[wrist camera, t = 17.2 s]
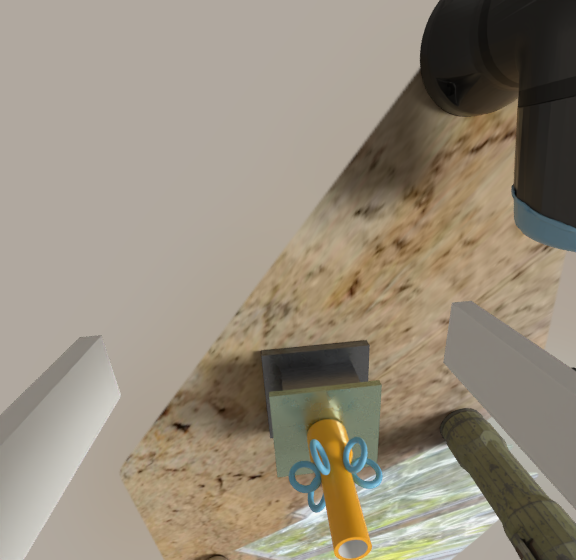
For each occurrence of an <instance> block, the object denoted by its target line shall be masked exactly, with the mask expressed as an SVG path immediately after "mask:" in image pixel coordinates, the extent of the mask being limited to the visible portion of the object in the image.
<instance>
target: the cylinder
mask: <svg viewBox="0 0 576 560" xmlns="http://www.w3.org/2000/svg"><path fill="white" fill-rule="evenodd" d="M307 443H308V449H309V456H310V461H311V462H309V461H299V462H297V463H295V464H294V465H293V466H292V467H291V469H290V471H289V481H290V483H291V485H292V486H293V488H294V489H296V490H297V491H299V492H302V493H308V504H309V507H310V509H311V510H312V511H313V512H320V511H322V510H323V509H324V507H325V506H326V510H327V515H328V521H329V526H330V532H331V537H332V543H333V548H334V553H335V556H336V557H337V558H339V559H340V560H359V559H361V558H363V557H365V556H366V555H368V554H369V552H370V551H371V549H372V545H371V541H370V537H369V534H368V530H367V527H366V523H365V520H364V516H363V513H362V509H361V506H360V502H359V499H358V495H357V491H356V488H355V484H354V482H355V483H356V484H357V485H359V486H361V487H363V488H367V489H372V488H375V487H377V486H378V485H379V484H380V483H381V481H382V471H381V469H380V467H379V466H378V464H377V463H376V462H374V461H373V460H371V459H369V458H367V453H368V452H367V445H366V443H365V441H364V440H363V439H362V438H360V437H353V438H351V439H350V440H349V438H348V435H347V432H346V429H345V427H344V425H343V424H342V423H340V422H339V421H337V420H333V419H323V420H320V421H318V422H316V423H314V424H313V425H312V426H311V427H310V428H309V430H308V432H307ZM356 443H358V444H359V445H360V447H361V456H360V457H359V458H356V459H354V460H353V461H352V459H353V451H352V447H353V445H354V444H356ZM365 464H367V465H370V466H371V467H372V468H373V469H374V470H375V472H376V478H375V479H374V480H373V481H364V480H362V479H360V478H359V477H358V476H357V475H356V473H358V472H359V471H361V470H362V468H363V467H364V465H365ZM303 467H307V468H310V469H311V470H313V471H314V473H315V475H316V477H315V478H314V479H313V481H312V482H311V484H310V485H307V486H304V485H301V484H299V483H298V482H297V481H296V479H295V473H296V471H297V470H298V469H300V468H303ZM321 483H322V488H323V496H322V499H321V501H320V503H319V504H318V505H315V504H314V499H313V496H314V491H315V490H316V489H317V488H318V487H319V486H320V484H321Z"/></svg>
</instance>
